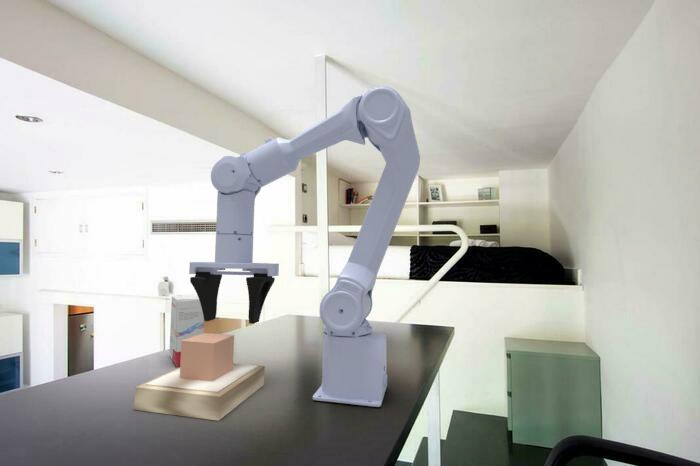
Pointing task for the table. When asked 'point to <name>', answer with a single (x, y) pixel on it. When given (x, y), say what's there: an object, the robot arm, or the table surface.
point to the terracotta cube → (206, 356)
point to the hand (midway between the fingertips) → (231, 321)
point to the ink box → (184, 322)
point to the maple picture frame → (199, 393)
